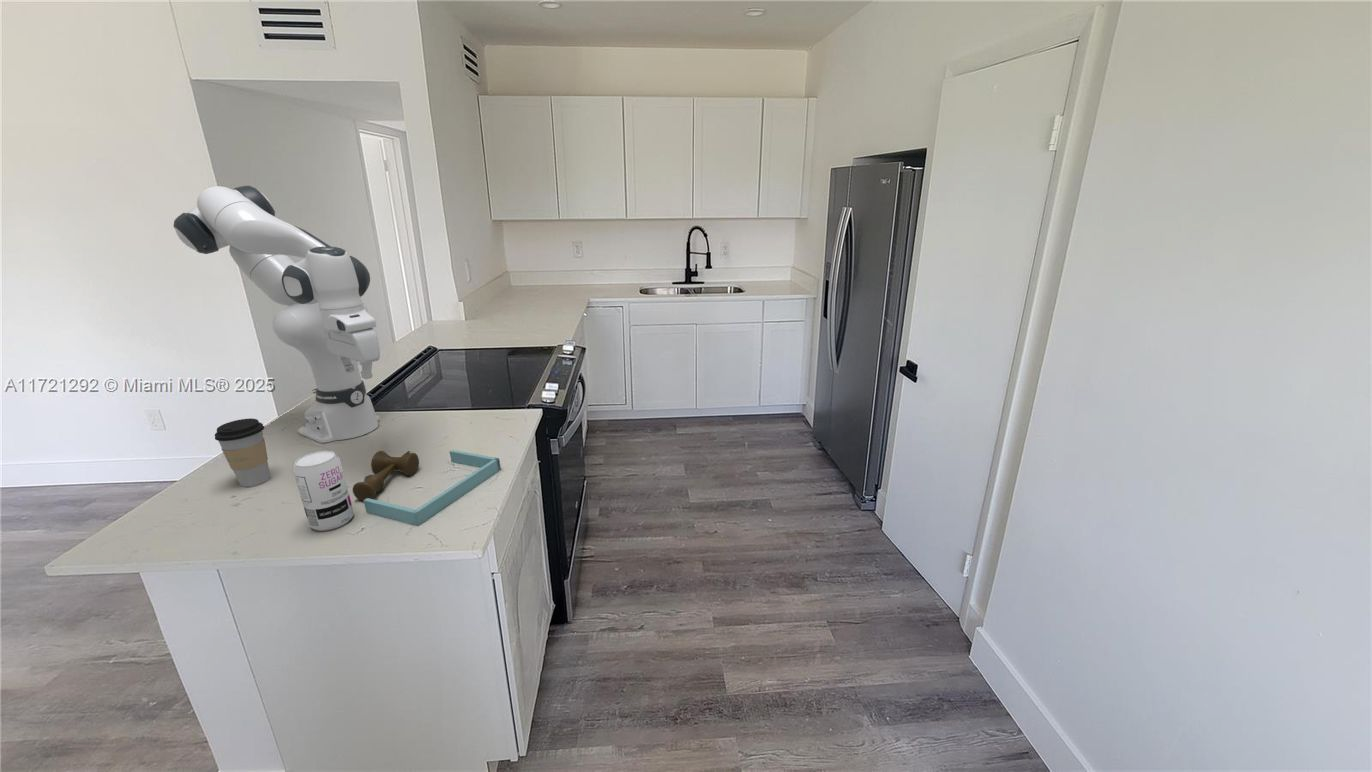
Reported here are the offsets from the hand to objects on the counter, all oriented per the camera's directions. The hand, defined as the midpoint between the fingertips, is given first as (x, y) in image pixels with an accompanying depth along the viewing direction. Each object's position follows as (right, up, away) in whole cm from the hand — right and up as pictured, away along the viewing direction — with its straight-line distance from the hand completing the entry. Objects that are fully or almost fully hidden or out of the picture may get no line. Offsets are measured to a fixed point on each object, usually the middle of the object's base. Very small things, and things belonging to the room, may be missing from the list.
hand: (358, 375), depth 133 cm
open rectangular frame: (+20, -27, -3) cm, 34 cm away
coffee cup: (-27, -26, +3) cm, 38 cm away
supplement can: (+4, -32, -15) cm, 35 cm away
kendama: (+7, -26, +1) cm, 27 cm away
